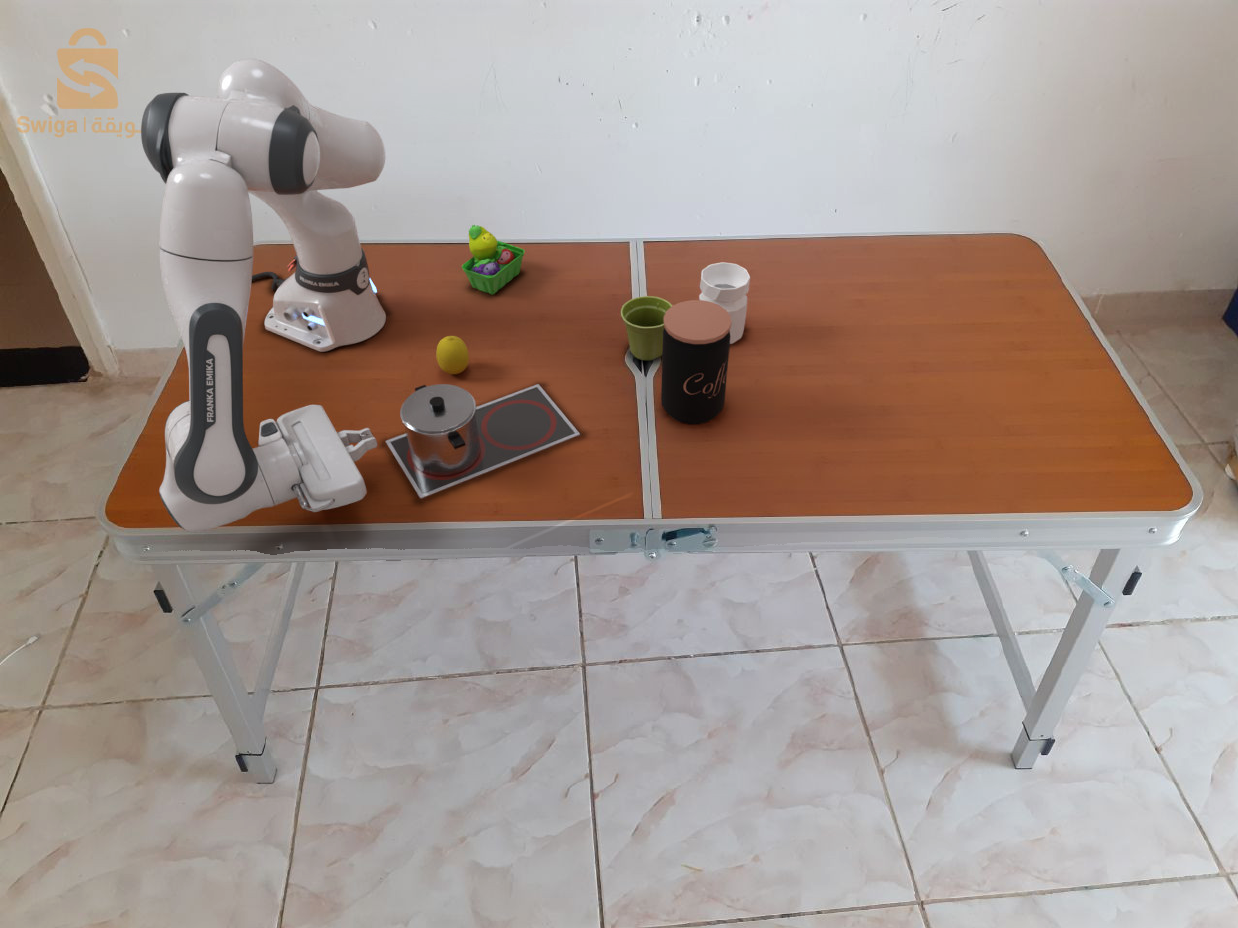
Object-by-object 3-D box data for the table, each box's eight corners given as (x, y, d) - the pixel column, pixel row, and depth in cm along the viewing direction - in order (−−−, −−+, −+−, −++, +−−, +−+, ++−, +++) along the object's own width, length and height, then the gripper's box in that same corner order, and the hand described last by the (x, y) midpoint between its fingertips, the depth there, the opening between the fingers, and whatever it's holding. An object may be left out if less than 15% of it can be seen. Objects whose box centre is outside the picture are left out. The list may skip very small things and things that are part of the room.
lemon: (476, 367, 170) (471, 330, 164) (462, 386, 166) (456, 349, 161) (448, 361, 171) (442, 324, 166) (434, 379, 168) (427, 343, 162)
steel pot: (431, 496, 147) (420, 444, 139) (394, 436, 157) (382, 385, 149) (500, 468, 151) (493, 417, 143) (459, 412, 161) (451, 361, 153)
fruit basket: (494, 300, 185) (488, 249, 177) (458, 287, 188) (450, 236, 180) (528, 272, 191) (524, 222, 184) (493, 260, 195) (487, 210, 187)
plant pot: (668, 370, 169) (670, 330, 163) (616, 363, 170) (615, 324, 164) (676, 338, 175) (678, 299, 169) (626, 332, 177) (626, 293, 171)
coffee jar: (681, 435, 157) (685, 347, 144) (649, 398, 164) (650, 311, 151) (736, 414, 160) (745, 327, 148) (702, 379, 167) (708, 292, 154)
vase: (690, 339, 175) (693, 283, 167) (705, 313, 181) (709, 258, 173) (736, 350, 173) (741, 294, 164) (750, 323, 179) (756, 268, 170)
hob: (420, 500, 147) (420, 498, 146) (385, 443, 156) (385, 440, 156) (580, 436, 157) (580, 434, 156) (538, 386, 166) (538, 383, 166)
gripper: (299, 499, 130) (395, 462, 135) (258, 414, 143) (346, 384, 148) (310, 530, 135) (402, 493, 140) (269, 445, 147) (355, 414, 152)
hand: (373, 436), depth 144 cm, fingers closed
